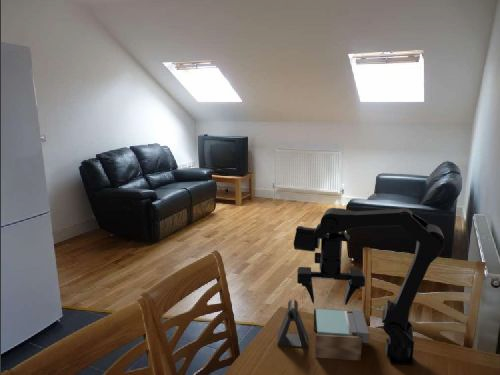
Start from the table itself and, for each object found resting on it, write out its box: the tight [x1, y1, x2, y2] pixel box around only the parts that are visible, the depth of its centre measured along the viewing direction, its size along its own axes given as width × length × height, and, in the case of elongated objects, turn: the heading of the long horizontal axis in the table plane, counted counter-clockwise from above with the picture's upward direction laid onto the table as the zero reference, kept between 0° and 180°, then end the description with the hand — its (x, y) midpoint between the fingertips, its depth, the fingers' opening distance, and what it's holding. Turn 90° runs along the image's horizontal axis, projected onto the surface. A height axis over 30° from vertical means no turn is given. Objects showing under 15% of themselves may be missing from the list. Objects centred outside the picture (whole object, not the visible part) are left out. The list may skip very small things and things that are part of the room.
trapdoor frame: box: [313, 308, 363, 361], centre depth 115 cm, size 12×14×7 cm
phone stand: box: [276, 299, 309, 349], centre depth 116 cm, size 9×6×12 cm, turn 84°
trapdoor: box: [315, 308, 370, 344], centre depth 114 cm, size 14×12×3 cm
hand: (329, 303), depth 113 cm, fingers open, 9 cm apart
